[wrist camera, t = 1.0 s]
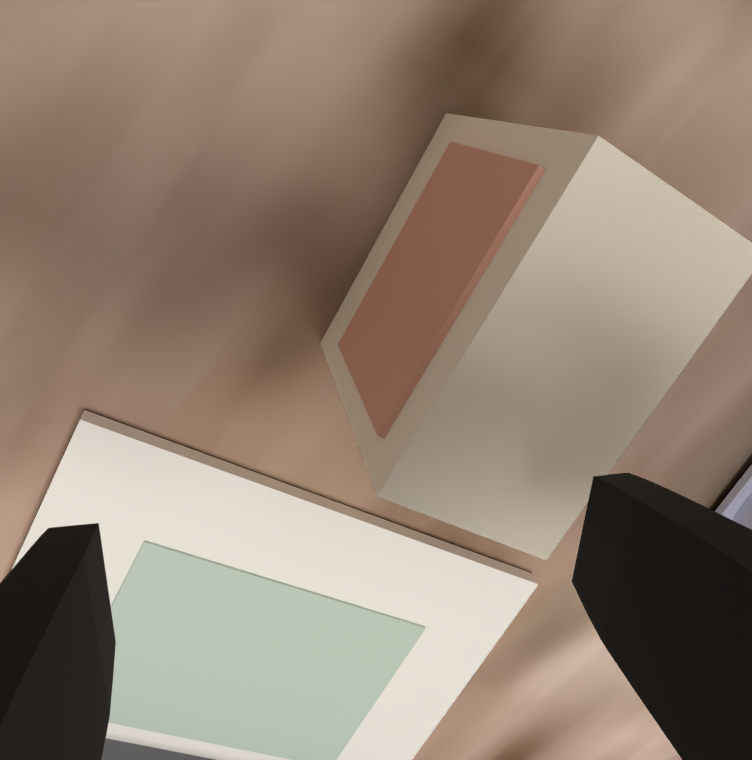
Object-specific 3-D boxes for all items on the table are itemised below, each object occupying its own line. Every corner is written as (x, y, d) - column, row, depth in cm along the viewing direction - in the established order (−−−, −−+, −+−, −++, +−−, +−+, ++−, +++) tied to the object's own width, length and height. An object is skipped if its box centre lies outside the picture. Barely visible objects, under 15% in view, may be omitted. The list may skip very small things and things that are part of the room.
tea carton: (561, 188, 19) (766, 252, 12) (435, 395, 21) (545, 560, 14) (441, 110, 18) (592, 130, 10) (315, 340, 19) (369, 493, 12)
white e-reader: (531, 573, 25) (569, 634, 22) (368, 801, 28) (384, 879, 25) (84, 409, 19) (60, 465, 16) (-58, 721, 22) (-98, 811, 19)
